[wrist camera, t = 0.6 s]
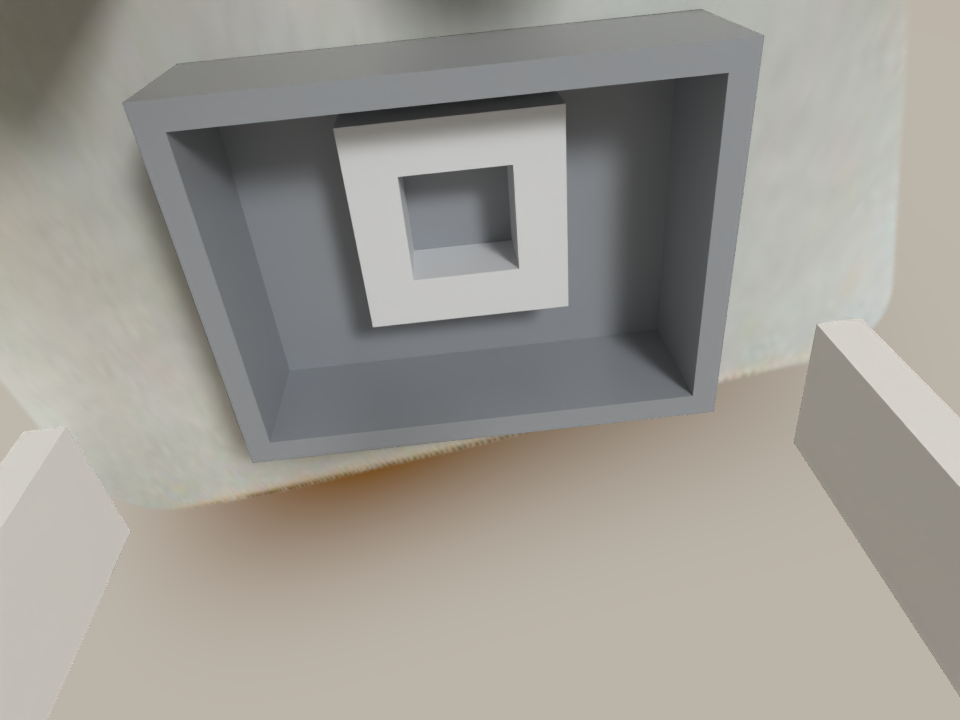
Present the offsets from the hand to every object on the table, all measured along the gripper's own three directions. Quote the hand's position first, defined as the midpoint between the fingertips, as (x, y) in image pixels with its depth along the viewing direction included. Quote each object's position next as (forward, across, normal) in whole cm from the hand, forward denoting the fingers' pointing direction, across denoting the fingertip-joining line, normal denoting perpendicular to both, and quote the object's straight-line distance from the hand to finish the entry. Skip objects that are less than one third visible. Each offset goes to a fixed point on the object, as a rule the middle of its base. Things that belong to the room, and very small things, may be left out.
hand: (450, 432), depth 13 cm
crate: (+25, 0, -7) cm, 26 cm away
